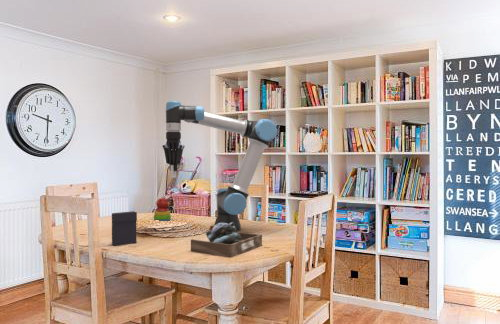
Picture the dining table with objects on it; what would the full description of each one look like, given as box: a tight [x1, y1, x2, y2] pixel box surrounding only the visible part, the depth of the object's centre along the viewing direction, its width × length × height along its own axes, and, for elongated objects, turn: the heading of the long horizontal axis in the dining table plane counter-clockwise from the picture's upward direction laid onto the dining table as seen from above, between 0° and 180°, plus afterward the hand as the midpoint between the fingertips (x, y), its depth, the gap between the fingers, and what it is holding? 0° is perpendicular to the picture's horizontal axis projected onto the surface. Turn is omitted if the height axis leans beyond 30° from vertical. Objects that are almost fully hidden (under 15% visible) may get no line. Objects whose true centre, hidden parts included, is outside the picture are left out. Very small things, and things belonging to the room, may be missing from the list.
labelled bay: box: [190, 231, 263, 258], centre depth 200 cm, size 26×22×5 cm
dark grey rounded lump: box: [205, 221, 242, 244], centre depth 200 cm, size 15×12×14 cm
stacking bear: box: [153, 197, 172, 222], centre depth 246 cm, size 11×10×18 cm
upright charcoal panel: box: [111, 210, 138, 247], centre depth 208 cm, size 11×4×15 cm, turn 129°
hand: (173, 177), depth 226 cm, fingers closed
